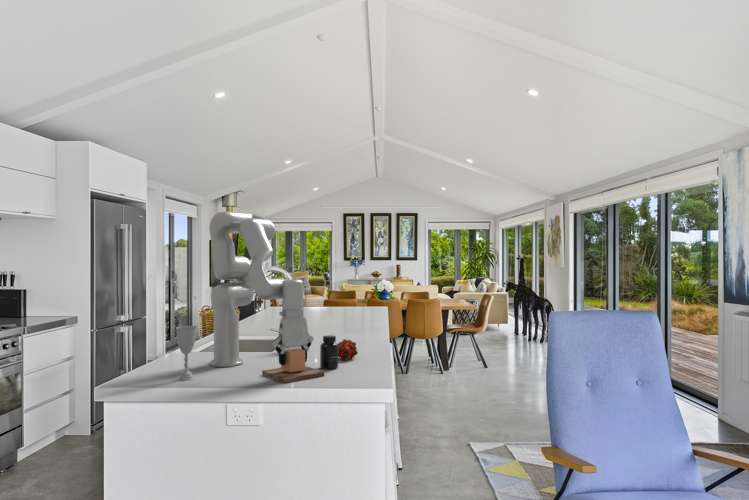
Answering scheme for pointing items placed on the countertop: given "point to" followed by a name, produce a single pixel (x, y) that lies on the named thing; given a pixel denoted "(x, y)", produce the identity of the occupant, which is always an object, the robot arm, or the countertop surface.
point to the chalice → (186, 347)
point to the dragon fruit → (346, 349)
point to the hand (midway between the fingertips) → (293, 362)
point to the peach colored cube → (294, 360)
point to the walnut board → (292, 374)
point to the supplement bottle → (329, 353)
